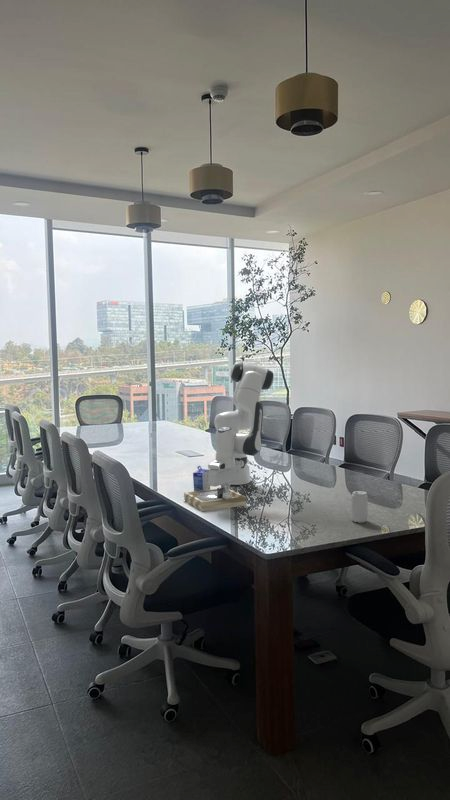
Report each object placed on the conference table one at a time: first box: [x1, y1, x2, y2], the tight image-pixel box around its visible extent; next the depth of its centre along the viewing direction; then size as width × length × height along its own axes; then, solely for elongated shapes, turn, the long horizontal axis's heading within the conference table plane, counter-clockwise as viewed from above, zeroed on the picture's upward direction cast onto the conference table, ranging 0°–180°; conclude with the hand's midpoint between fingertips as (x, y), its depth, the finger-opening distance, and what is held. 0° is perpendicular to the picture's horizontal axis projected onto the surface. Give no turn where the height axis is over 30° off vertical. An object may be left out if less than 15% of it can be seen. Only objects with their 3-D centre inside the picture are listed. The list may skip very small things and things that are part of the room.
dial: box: [197, 487, 233, 501], centre depth 275 cm, size 17×17×6 cm
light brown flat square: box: [183, 488, 247, 512], centre depth 275 cm, size 22×22×4 cm
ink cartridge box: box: [192, 465, 211, 491], centre depth 292 cm, size 10×6×14 cm, turn 161°
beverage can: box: [350, 490, 369, 524], centre depth 241 cm, size 6×6×12 cm
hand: (225, 492), depth 271 cm, fingers closed
